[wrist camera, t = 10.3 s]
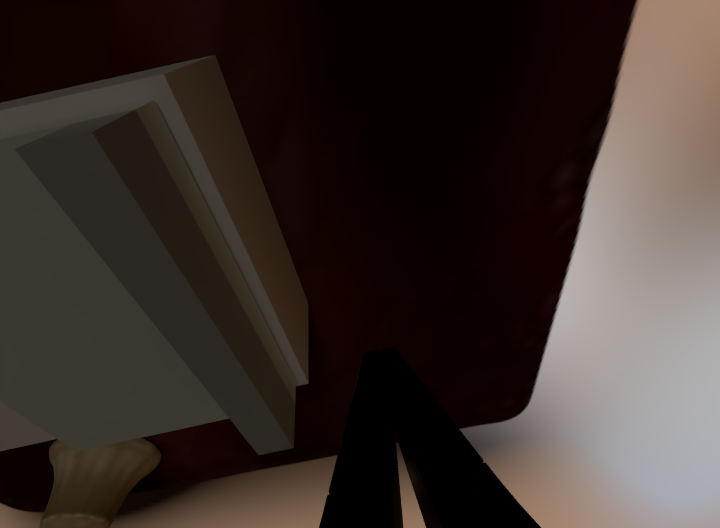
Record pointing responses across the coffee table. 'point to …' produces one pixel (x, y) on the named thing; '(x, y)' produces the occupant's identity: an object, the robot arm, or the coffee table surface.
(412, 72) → the coffee table surface
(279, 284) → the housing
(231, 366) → the lid
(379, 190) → the coffee table surface
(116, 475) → the hand bell
